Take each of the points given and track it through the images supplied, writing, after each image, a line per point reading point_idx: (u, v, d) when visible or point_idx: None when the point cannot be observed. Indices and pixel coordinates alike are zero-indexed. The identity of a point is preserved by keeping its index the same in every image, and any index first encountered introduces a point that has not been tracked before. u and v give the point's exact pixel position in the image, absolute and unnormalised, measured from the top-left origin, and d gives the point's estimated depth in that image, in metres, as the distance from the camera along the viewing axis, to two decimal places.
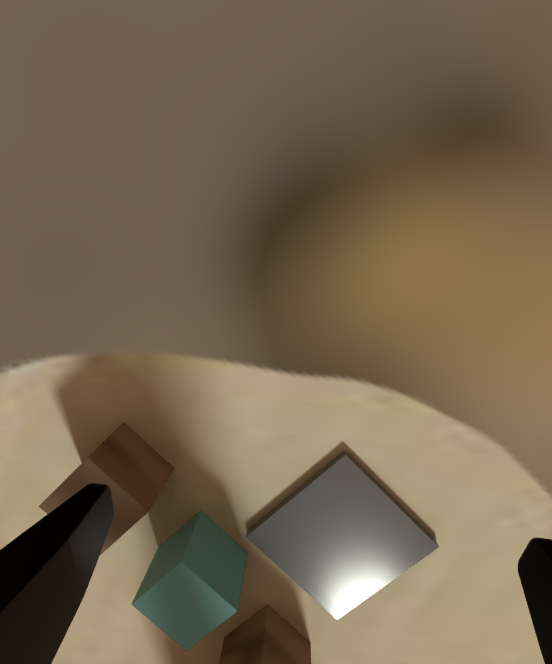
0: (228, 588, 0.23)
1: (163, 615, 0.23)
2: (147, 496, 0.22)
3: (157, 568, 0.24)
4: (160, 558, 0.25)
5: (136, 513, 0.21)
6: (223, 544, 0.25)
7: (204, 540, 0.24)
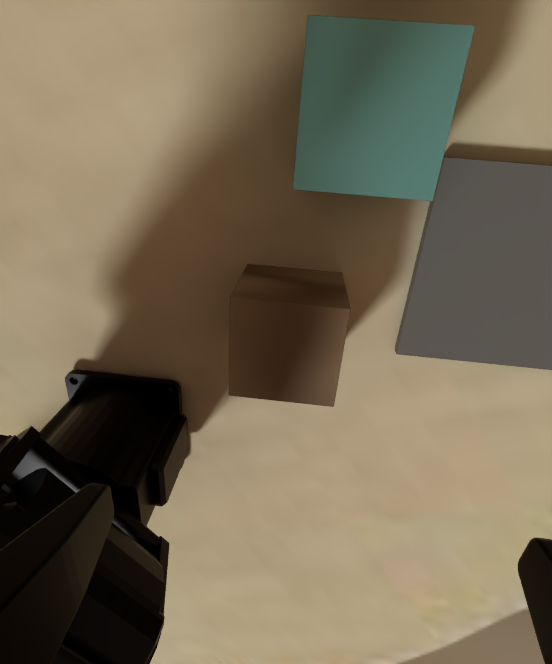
0: None
1: (331, 93, 0.11)
2: None
3: None
4: None
5: None
6: None
7: None
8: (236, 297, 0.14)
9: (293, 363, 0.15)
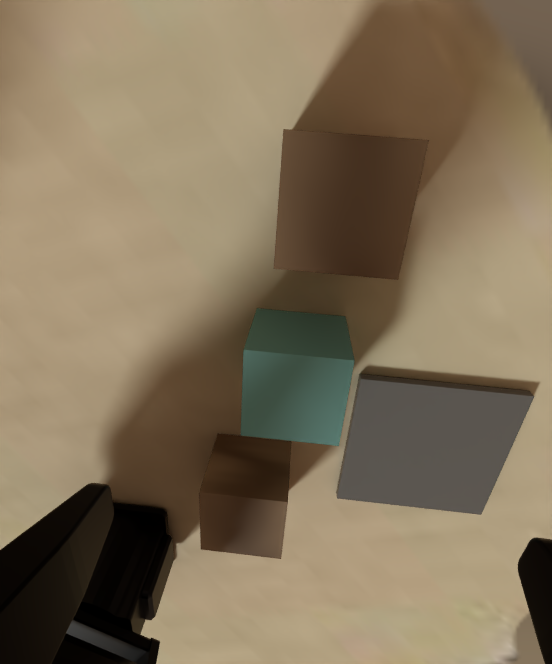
0: None
1: (262, 388, 0.16)
2: None
3: (282, 335, 0.17)
4: (277, 325, 0.18)
5: (383, 268, 0.14)
6: None
7: None
8: (204, 491, 0.19)
9: (249, 531, 0.20)
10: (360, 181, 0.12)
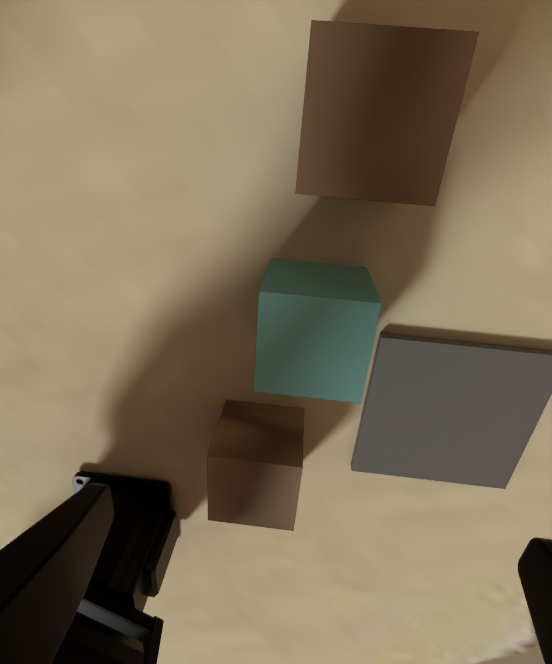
0: None
1: (279, 336, 0.15)
2: None
3: (300, 281, 0.15)
4: (294, 272, 0.16)
5: (419, 192, 0.12)
6: None
7: None
8: (212, 455, 0.18)
9: (259, 500, 0.19)
10: (397, 84, 0.11)
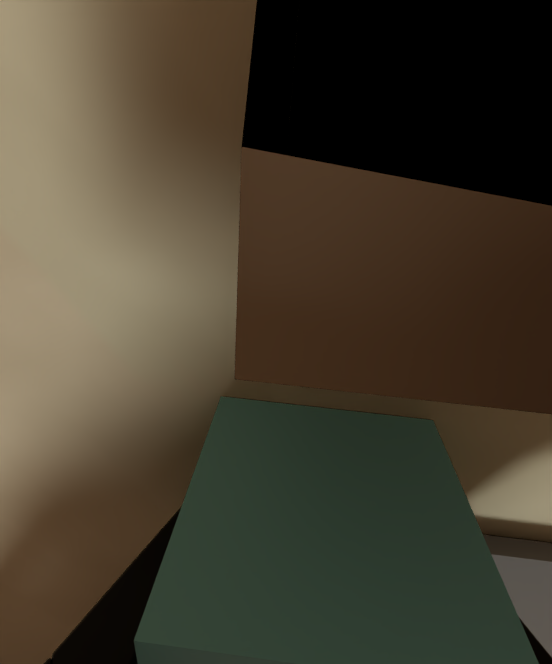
0: None
1: None
2: None
3: (279, 525, 0.06)
4: (267, 471, 0.06)
5: None
6: None
7: None
8: None
9: None
10: None
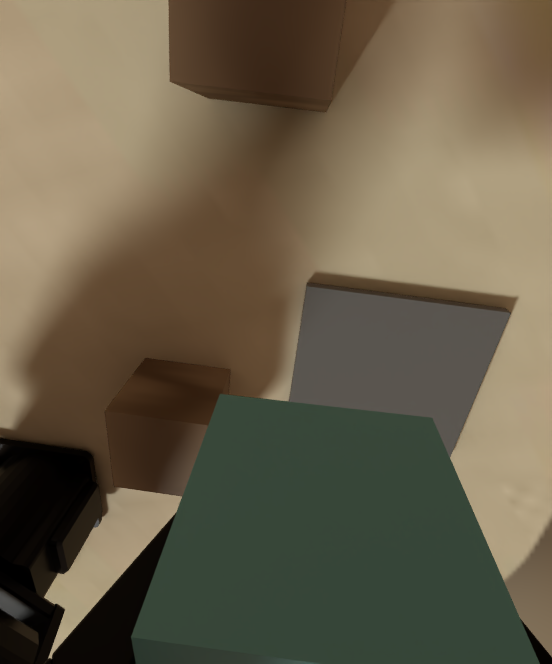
0: None
1: None
2: None
3: (277, 522, 0.06)
4: (265, 468, 0.06)
5: (311, 81, 0.10)
6: None
7: None
8: (110, 410, 0.16)
9: (167, 464, 0.17)
10: None
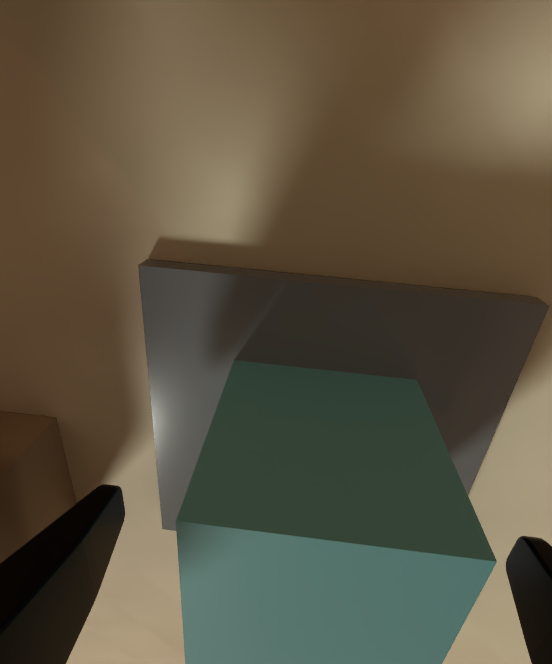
0: None
1: (234, 600, 0.06)
2: None
3: (285, 451, 0.07)
4: (275, 414, 0.08)
5: None
6: None
7: None
8: None
9: None
10: None
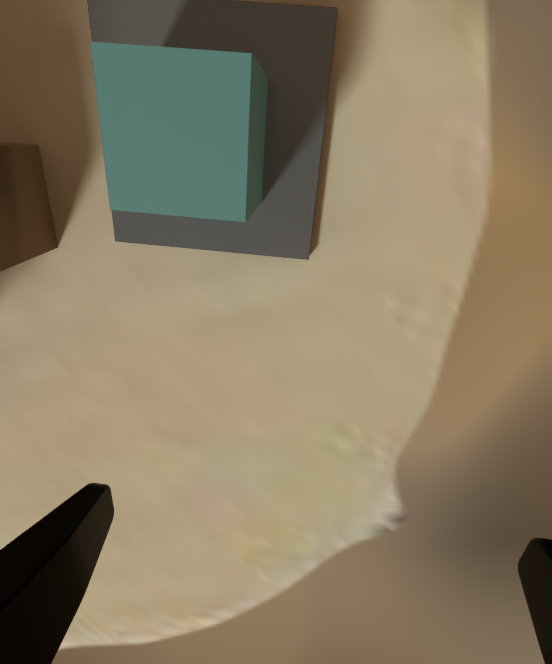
0: (250, 188, 0.13)
1: (128, 117, 0.11)
2: None
3: None
4: None
5: None
6: (261, 150, 0.14)
7: (260, 103, 0.13)
8: None
9: None
10: None
